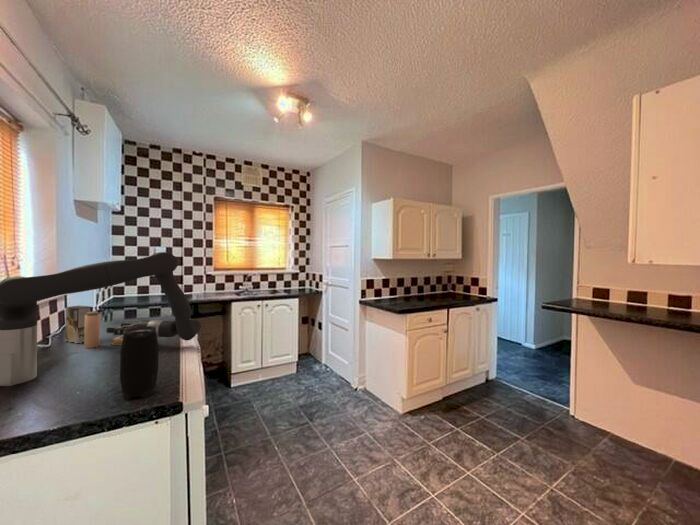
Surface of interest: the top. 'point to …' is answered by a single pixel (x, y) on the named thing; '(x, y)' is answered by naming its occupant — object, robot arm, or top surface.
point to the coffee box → (76, 323)
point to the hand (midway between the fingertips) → (114, 327)
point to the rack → (117, 340)
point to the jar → (92, 330)
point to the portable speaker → (139, 362)
